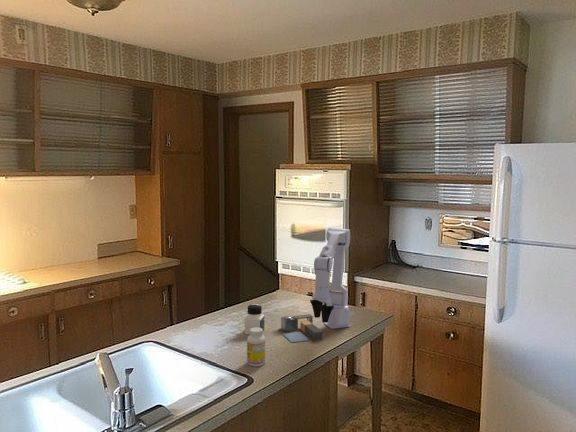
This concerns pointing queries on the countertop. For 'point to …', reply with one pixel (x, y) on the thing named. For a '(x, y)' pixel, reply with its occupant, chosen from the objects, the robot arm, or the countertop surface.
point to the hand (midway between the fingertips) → (321, 319)
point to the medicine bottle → (253, 318)
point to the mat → (296, 337)
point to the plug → (311, 330)
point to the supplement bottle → (256, 347)
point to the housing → (293, 321)
